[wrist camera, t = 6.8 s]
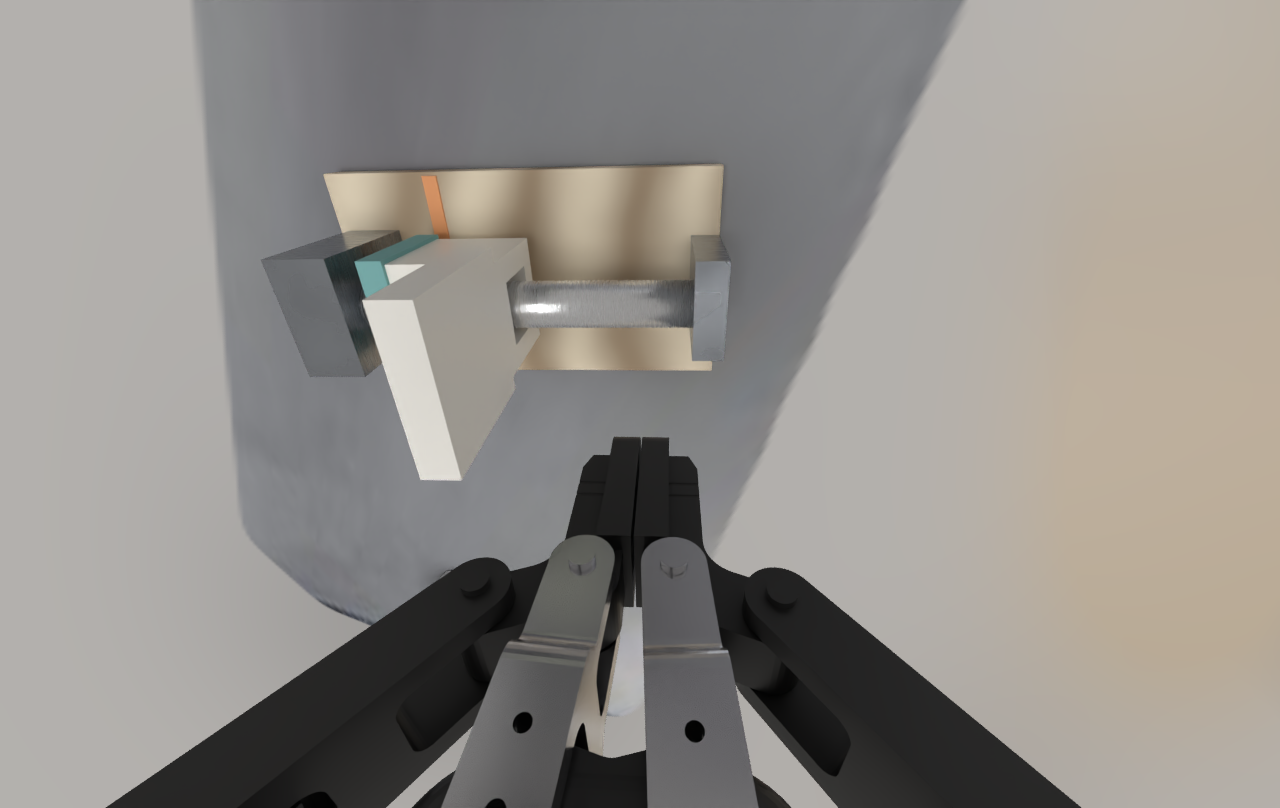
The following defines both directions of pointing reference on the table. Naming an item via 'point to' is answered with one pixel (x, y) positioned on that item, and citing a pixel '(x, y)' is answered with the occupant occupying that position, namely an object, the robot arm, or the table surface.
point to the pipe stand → (533, 261)
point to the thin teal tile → (373, 265)
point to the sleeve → (451, 345)
